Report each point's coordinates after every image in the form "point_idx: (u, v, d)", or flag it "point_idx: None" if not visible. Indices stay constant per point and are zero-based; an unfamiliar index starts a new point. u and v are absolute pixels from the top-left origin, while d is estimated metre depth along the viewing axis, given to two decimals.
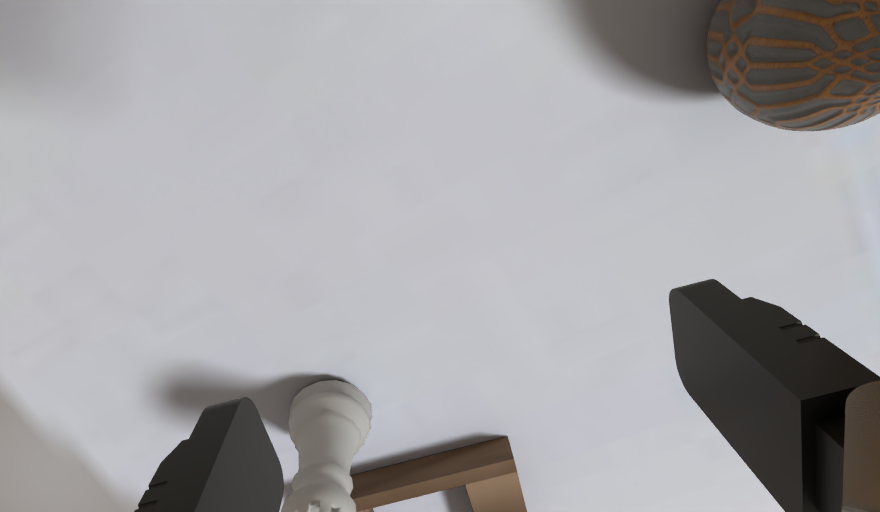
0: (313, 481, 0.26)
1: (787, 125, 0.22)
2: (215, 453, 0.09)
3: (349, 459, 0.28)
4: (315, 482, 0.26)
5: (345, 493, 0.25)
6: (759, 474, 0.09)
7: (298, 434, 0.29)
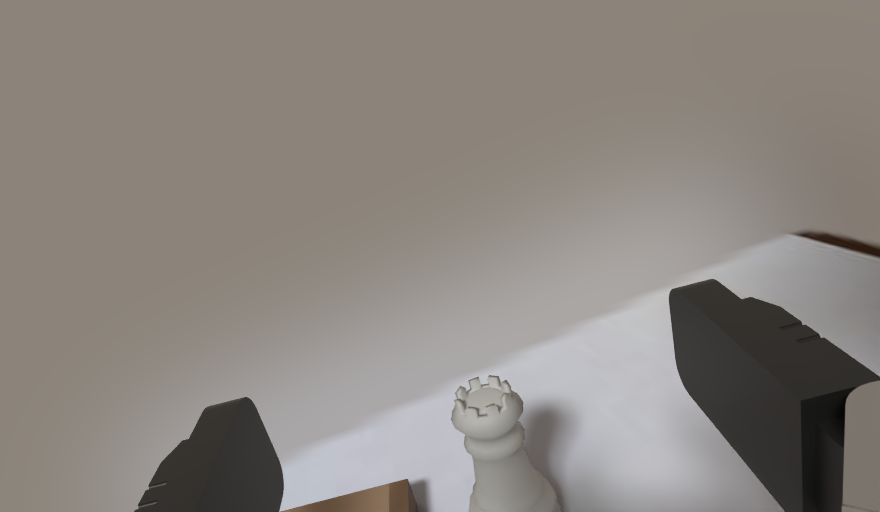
0: None
1: None
2: (215, 453, 0.09)
3: (504, 478, 0.26)
4: None
5: (508, 426, 0.24)
6: (759, 474, 0.09)
7: None
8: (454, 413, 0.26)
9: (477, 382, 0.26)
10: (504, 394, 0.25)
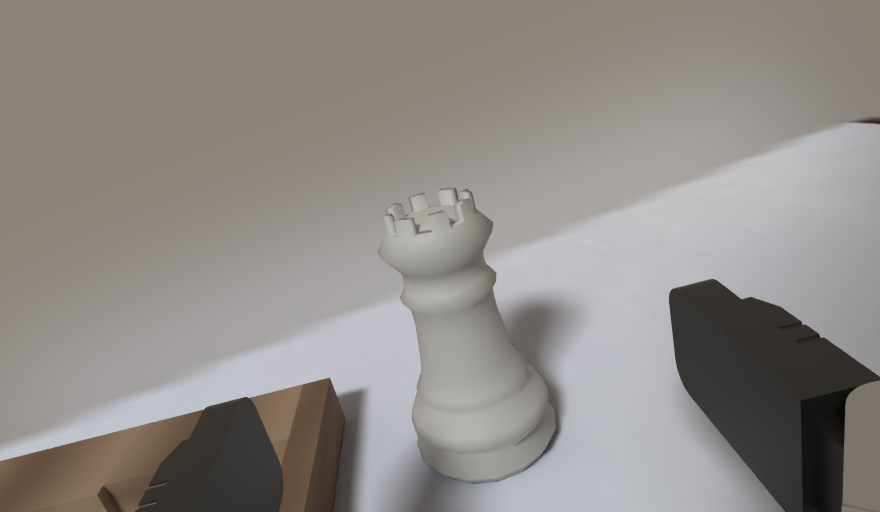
0: None
1: None
2: (215, 453, 0.09)
3: (462, 345, 0.16)
4: None
5: (465, 247, 0.15)
6: (759, 475, 0.09)
7: None
8: (382, 240, 0.16)
9: (422, 198, 0.17)
10: (461, 200, 0.15)
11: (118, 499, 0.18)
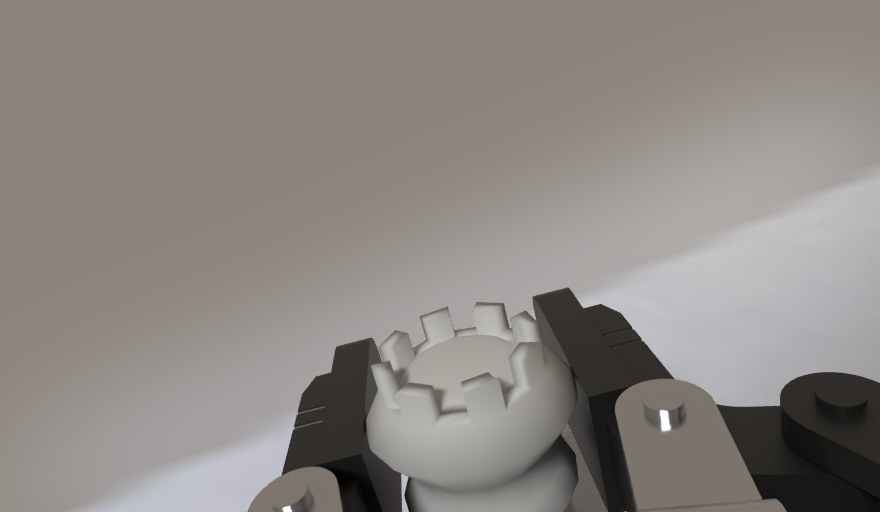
0: None
1: None
2: (362, 380, 0.10)
3: None
4: None
5: (535, 448, 0.07)
6: (587, 464, 0.10)
7: None
8: (373, 406, 0.09)
9: (444, 320, 0.09)
10: (522, 347, 0.08)
11: None
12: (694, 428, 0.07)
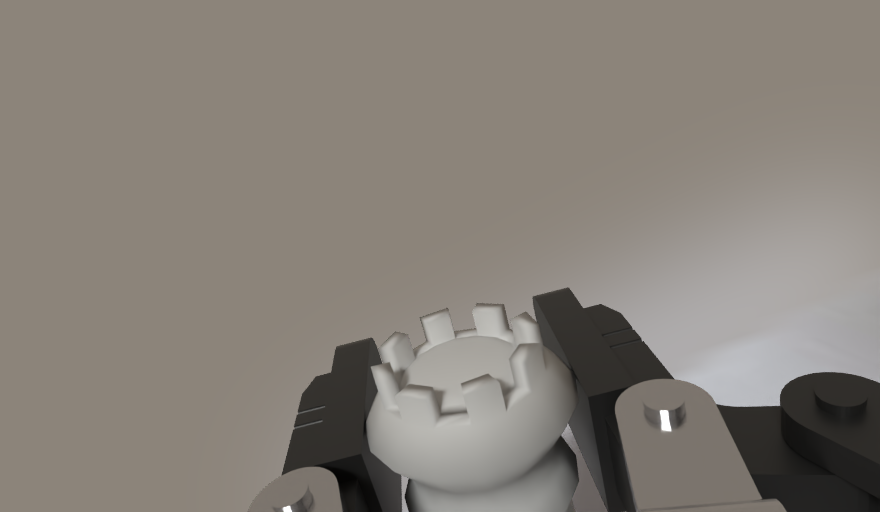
0: None
1: None
2: (362, 380, 0.10)
3: None
4: None
5: (535, 449, 0.07)
6: (587, 464, 0.10)
7: None
8: (373, 407, 0.09)
9: (444, 321, 0.09)
10: (522, 348, 0.08)
11: None
12: (694, 428, 0.07)
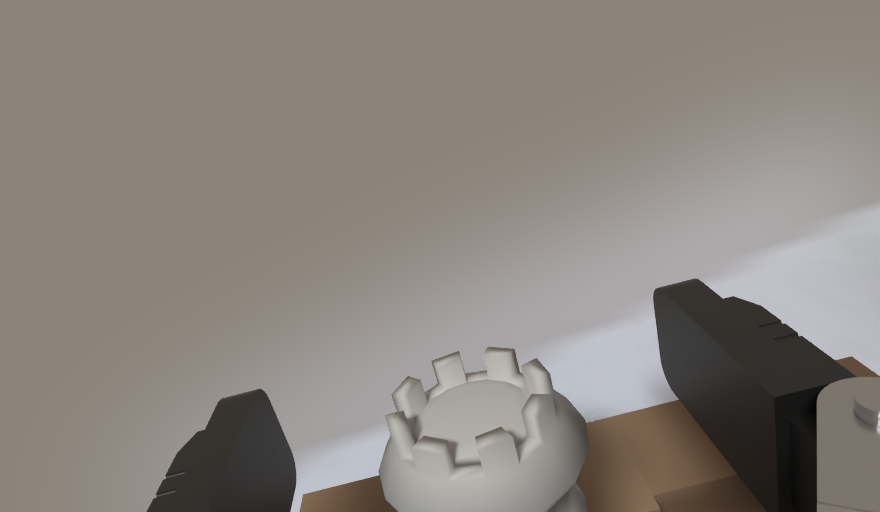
0: None
1: None
2: (232, 443, 0.09)
3: None
4: None
5: (548, 501, 0.08)
6: (738, 471, 0.09)
7: None
8: (387, 453, 0.09)
9: (455, 365, 0.10)
10: (533, 399, 0.08)
11: None
12: None
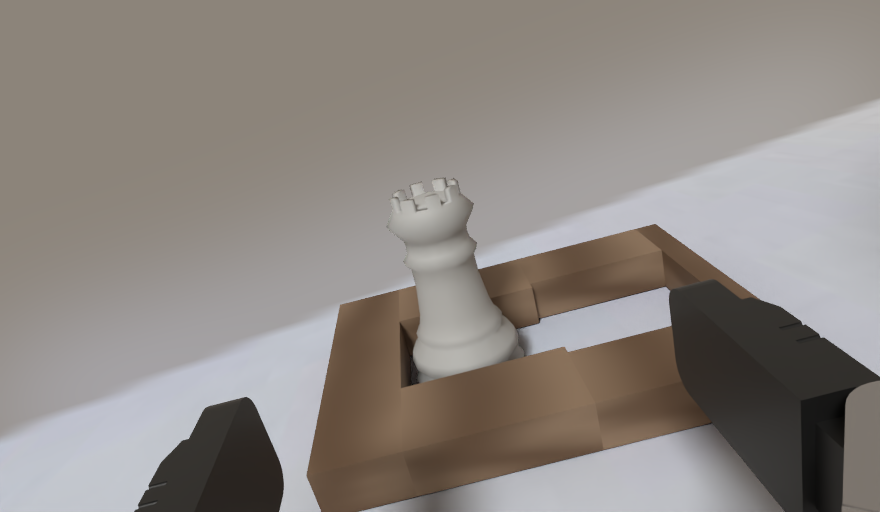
0: (467, 220, 0.21)
1: None
2: (215, 453, 0.09)
3: (451, 295, 0.21)
4: None
5: (452, 220, 0.20)
6: (759, 474, 0.09)
7: None
8: (390, 217, 0.21)
9: (419, 186, 0.22)
10: (449, 186, 0.20)
11: (537, 295, 0.26)
12: None
